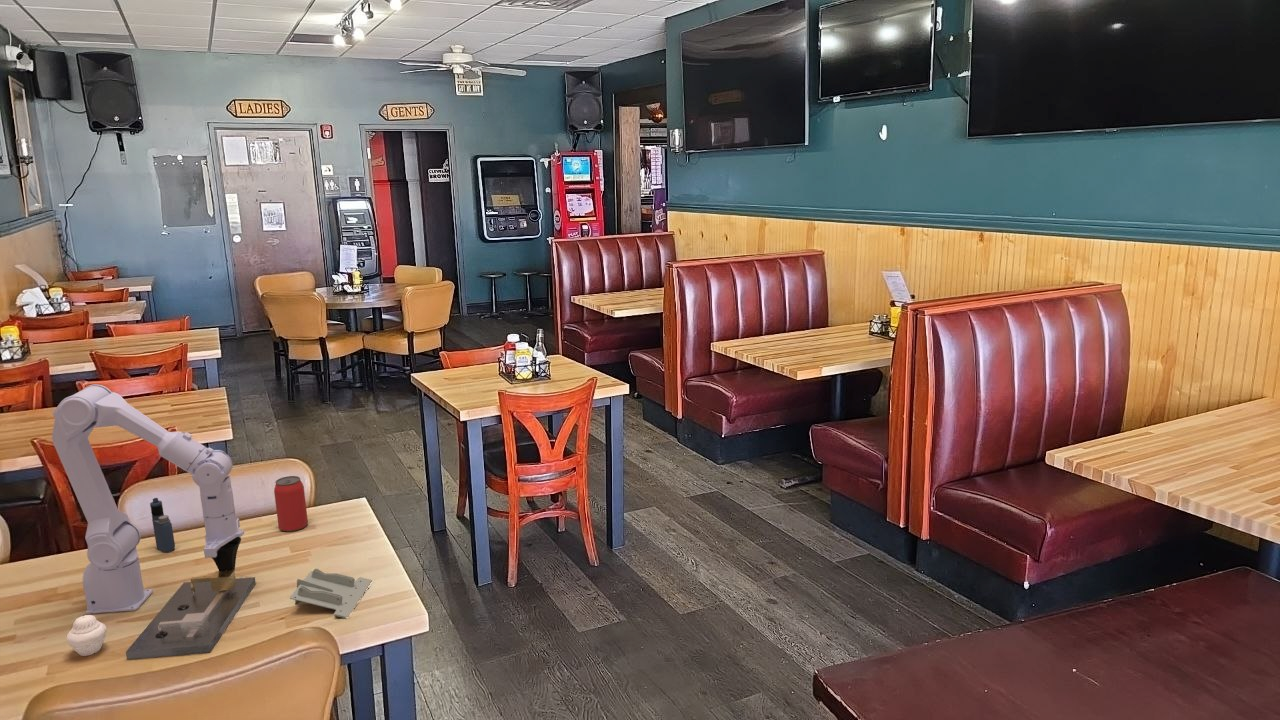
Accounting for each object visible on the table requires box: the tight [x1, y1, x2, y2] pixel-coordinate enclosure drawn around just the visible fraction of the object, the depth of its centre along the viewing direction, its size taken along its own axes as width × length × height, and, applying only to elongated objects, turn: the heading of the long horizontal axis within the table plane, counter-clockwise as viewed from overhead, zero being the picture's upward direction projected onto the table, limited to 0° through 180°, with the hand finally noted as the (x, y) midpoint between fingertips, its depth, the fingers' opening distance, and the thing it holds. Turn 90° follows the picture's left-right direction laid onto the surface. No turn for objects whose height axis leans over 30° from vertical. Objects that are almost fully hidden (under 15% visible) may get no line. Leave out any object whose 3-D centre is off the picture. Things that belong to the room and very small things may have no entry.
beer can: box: [273, 475, 309, 532], centre depth 204 cm, size 7×7×12 cm
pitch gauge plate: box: [125, 576, 257, 660], centre depth 164 cm, size 14×26×4 cm, turn 7°
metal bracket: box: [289, 568, 373, 619], centre depth 170 cm, size 14×6×15 cm
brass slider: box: [190, 569, 237, 593], centre depth 170 cm, size 8×3×3 cm, turn 97°
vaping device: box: [149, 497, 176, 553], centre depth 193 cm, size 3×5×12 cm, turn 54°
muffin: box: [66, 614, 108, 657], centre depth 153 cm, size 6×6×7 cm
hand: (227, 575), depth 173 cm, fingers closed
